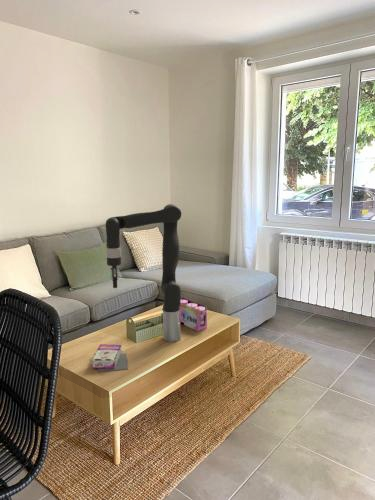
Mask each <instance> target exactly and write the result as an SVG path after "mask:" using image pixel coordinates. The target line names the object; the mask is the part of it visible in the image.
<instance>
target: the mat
mask: <svg viewBox="0 0 375 500" xmlns="http://www.w3.org/2000/svg"><path fill="white" fill-rule="evenodd" d="M123 370H125V371H126V370H129V366H128V357H127V352H126V353H125V352H123V353H121V355H120V357H119V360H118V362H117V364H116V367H115V369H110V368H97V372H98V373H105V372H113V371H123Z"/></svg>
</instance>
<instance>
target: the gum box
mask: <svg viewBox="0 0 375 500" xmlns="http://www.w3.org/2000/svg"><path fill="white" fill-rule="evenodd" d="M179 322H180V324H181V322H183V323H184V325H183V326H186V327H188V328H189V329H192V330H195V331H196V332H199V331H202V330H205V329H208V306H206V305H204V304H201V303H198V302H195V301H192V300H190V299H188V298H184V297H181V303H180V307H179Z"/></svg>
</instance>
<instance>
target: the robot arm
mask: <svg viewBox="0 0 375 500" xmlns="http://www.w3.org/2000/svg"><path fill="white" fill-rule="evenodd" d="M181 218H182V210H181V209H180V208H179V206H177V205H176V204H171V203H169V204H167V205H165V206H164V207H163V208H161V209H160V210H156V211H147V212H137V213H136V212H135V213H132V214H131V213H130V214H126V215H120V216H119V215H118V216H111V217H109V218H107V219H106V220H105V231H106V232H105V234H106V239H105V242H106V254H105V255H106V264H107V266H109V267H110V274H111V275H110V276H111V278H112V279H111V281H112V288H113V289H118V280H119V279H118V278H119V267H118V266H120V265H122V252H121V251H122V249H121V239H120V231H121V230H122V229H133V228H139V227H144V226H148V225H153V224H161V223H162V224H163V235H162V251H161V252H162V255H161V257H162V262H161V263H162V276H161V285H160V286H161V287H160V290H161V293H162V294H163V296H164V297H163V298H164V299H163V300H164V302H163V304H162V332H163V335H162V336H163V337H162V338H163V341H165V342H170V343H172V342H178V341H181V323H180V322H179V307H180V303H181V298H182V293H181V292H182V291H181V288H180V286H179V285H178V283H176V282H177V281H176V269H177V266H178V264H179V261H180V260H179V259H180V242H179V241H180V240H179V235H178V223H179V222H178V221H180V220H181Z"/></svg>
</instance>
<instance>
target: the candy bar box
mask: <svg viewBox="0 0 375 500" xmlns="http://www.w3.org/2000/svg"><path fill="white" fill-rule="evenodd" d="M121 354H122V344H99V346H98V348H97V350H96V352H95V353H94V355H93V357H92V359H91V369H98V368H110V369H115V367H116V364H117V362H118V360H119V357H120V355H121Z"/></svg>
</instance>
